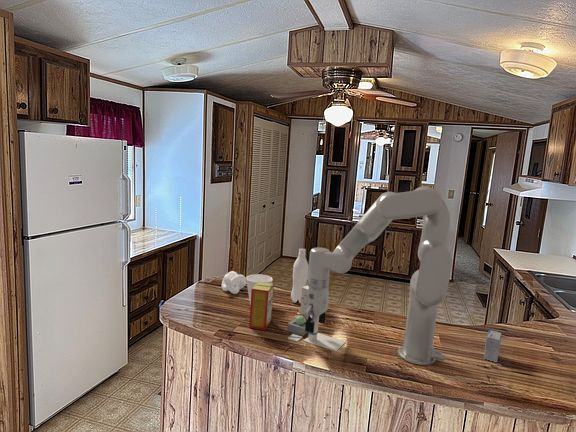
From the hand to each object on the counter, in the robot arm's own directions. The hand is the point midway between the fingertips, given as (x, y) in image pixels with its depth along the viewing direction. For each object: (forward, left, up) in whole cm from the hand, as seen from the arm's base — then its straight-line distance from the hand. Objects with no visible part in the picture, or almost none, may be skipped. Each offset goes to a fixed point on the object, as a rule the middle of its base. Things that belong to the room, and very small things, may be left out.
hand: (315, 327), depth 146 cm
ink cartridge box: (+14, -24, -6) cm, 28 cm away
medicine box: (-57, -29, -6) cm, 65 cm away
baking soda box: (+24, 0, -6) cm, 24 cm away
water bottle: (+24, -32, -6) cm, 40 cm away
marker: (+1, 0, -5) cm, 5 cm away
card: (+7, +3, -5) cm, 9 cm away
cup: (+36, -16, -6) cm, 39 cm away
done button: (+9, -4, -4) cm, 10 cm away
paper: (-3, -2, -5) cm, 7 cm away
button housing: (+9, -4, -5) cm, 11 cm away
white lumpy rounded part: (+56, -23, -6) cm, 60 cm away
